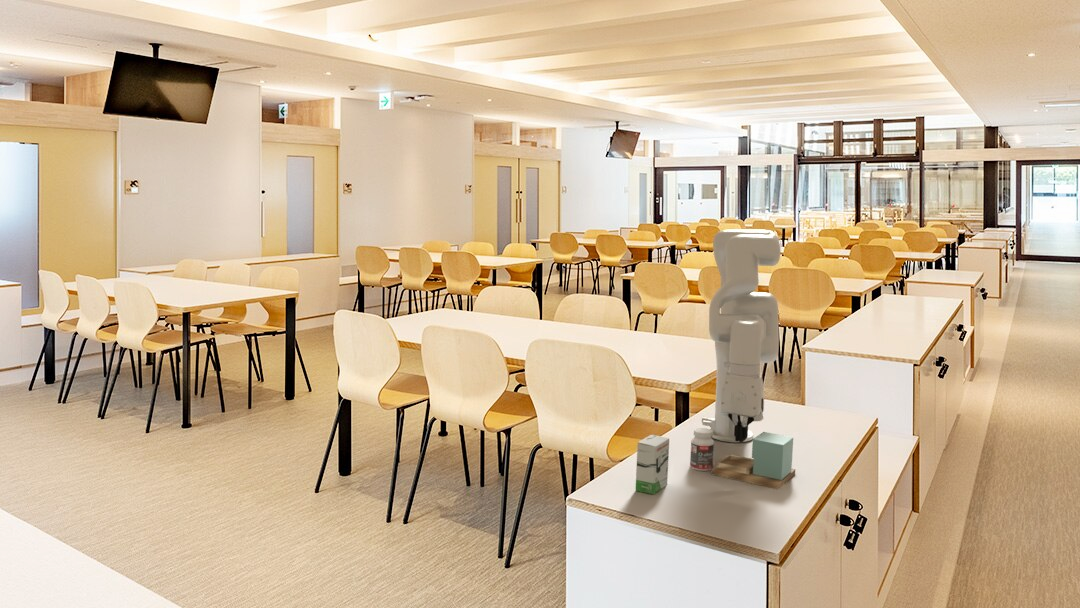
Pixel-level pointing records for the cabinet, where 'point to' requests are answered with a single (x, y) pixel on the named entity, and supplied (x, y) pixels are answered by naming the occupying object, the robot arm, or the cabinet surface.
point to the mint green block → (772, 455)
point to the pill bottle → (702, 450)
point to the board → (746, 472)
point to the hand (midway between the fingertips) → (740, 440)
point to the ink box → (652, 464)
